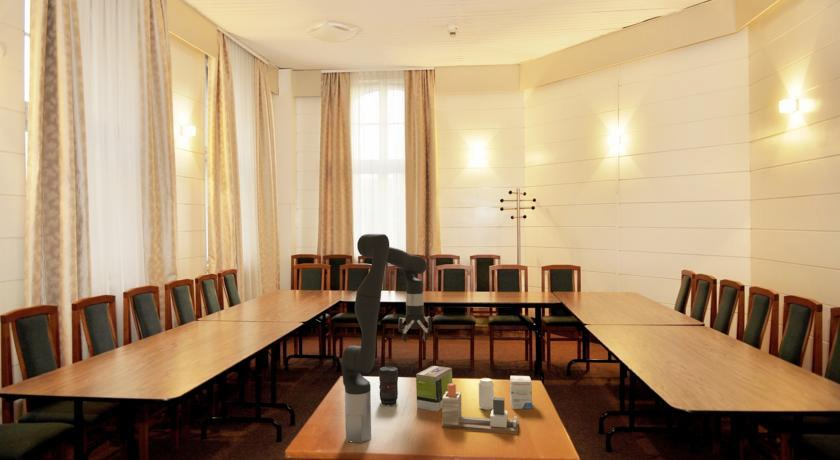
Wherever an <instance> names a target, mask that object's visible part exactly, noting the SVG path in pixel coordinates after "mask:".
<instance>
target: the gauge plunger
mask: <svg viewBox="0 0 840 460" xmlns="http://www.w3.org/2000/svg"><path fill="white" fill-rule="evenodd" d="M456 392H457V384H456V383H453V382H452V383H450V384H448V397H456Z"/></svg>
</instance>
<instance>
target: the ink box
mask: <svg viewBox="0 0 840 460" xmlns="http://www.w3.org/2000/svg"><path fill="white" fill-rule="evenodd" d="M509 379H510V380H509V382H510V383H509V384H510V387H509V388H510V389H509V390H510V391H509V392H510V394H509V395H510V396H509V397H510V405H511V409H512V410H533V386H532V379H531V377H530V376H529V375H510V377H509Z"/></svg>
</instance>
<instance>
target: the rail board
mask: <svg viewBox="0 0 840 460" xmlns="http://www.w3.org/2000/svg"><path fill="white" fill-rule="evenodd" d="M441 410H442V411H441V412H442V425H441V428H442V429H447V430H460V431H471V432H484V433H485V432H486V433H495V434H496V433H497V434H500V433H501V434H509V435H518V431H519V423H520V422H519V420H518V416H515V415H514V417H513V420H511V419H508V420H507V427H506V428H504V427H491V426H490V418H487V417H486V418H484V417H470V416H469V417H468V416H463V415H462V392H461V391H456V397H448V391H446V392H445V394H444V396H443V397H442V408H441Z"/></svg>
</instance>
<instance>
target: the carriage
mask: <svg viewBox="0 0 840 460" xmlns="http://www.w3.org/2000/svg"><path fill="white" fill-rule="evenodd" d="M505 407H506V406H505V397H499V396H498V397H497V396H494V398H493V408H492V409H491V411H490V415H489V419H490V426H491V427H504V428H506V427H507V420H509V417H508V416H509V415H508V410H505V409H506V408H505Z"/></svg>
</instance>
